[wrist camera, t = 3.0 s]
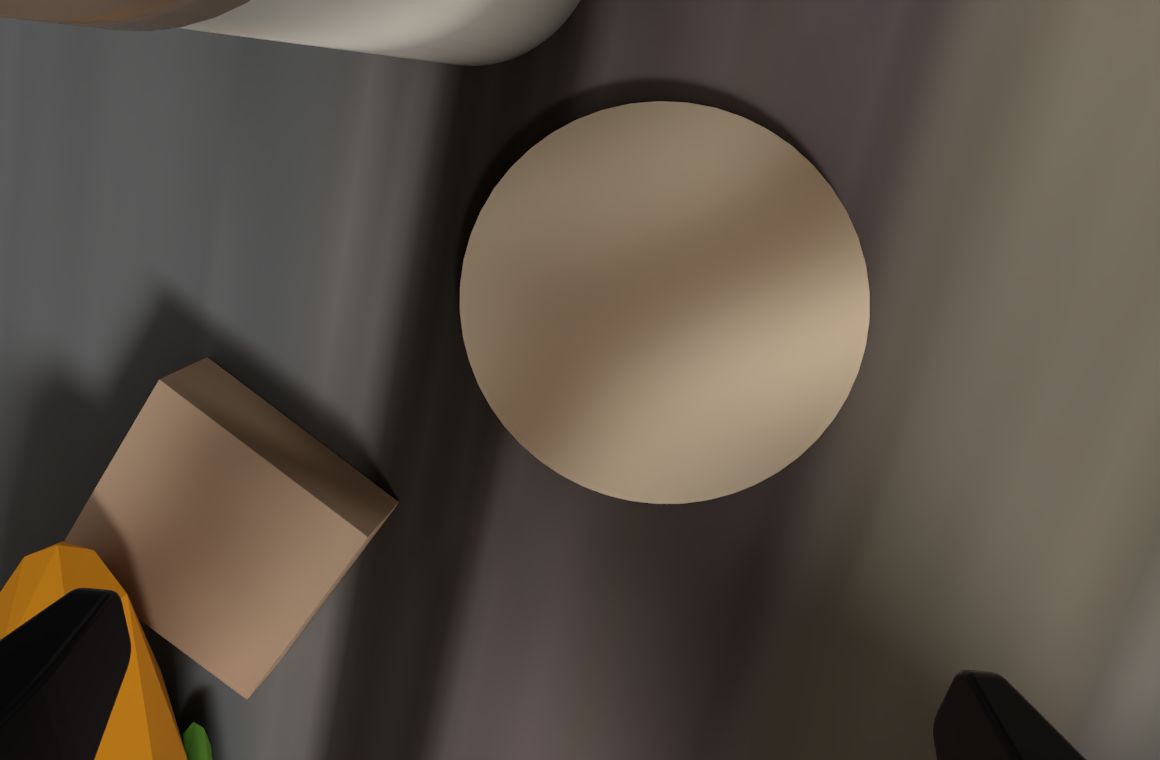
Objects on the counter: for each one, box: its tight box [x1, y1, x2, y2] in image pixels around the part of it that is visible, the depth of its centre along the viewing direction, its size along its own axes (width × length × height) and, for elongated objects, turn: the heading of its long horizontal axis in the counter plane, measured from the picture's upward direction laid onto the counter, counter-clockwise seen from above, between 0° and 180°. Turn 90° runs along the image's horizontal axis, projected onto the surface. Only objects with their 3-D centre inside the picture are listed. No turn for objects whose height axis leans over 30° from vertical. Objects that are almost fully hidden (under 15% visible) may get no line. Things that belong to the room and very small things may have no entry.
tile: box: [64, 357, 399, 699], centre depth 23 cm, size 6×6×2 cm
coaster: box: [460, 101, 870, 504], centre depth 21 cm, size 9×9×1 cm
